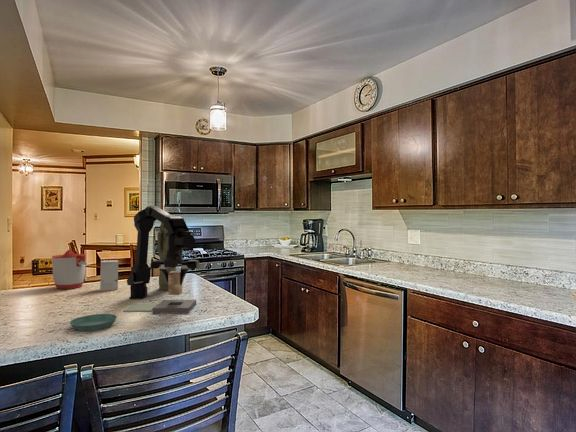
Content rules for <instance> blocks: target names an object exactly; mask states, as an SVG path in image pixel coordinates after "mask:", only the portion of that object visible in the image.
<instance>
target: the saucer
mask: <svg viewBox="0 0 576 432" xmlns="http://www.w3.org/2000/svg"><path fill="white" fill-rule="evenodd" d="M117 319H118V316H117V315H116V314H112V313H96V314H90V315H89V314H88V315H83V316H80V317H77V318H74V319H73V320H70V322H69V324H70V326H71V327H72V328H74V329H75V330H76V331H80V332H92V331H98V330H99V331H100V330H103V329H106V328H108V327H111V326H112V325H113V323H114V322H115V321H116V320H117Z"/></svg>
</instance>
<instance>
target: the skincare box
mask: <svg viewBox="0 0 576 432" xmlns="http://www.w3.org/2000/svg"><path fill="white" fill-rule="evenodd" d="M99 283H100V285H99V290H100V292H104V291H105V292H106V291H115V290H118V289H119V286H118V285H119V260H117V259H116V260H101V261H100V282H99Z"/></svg>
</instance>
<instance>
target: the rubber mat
mask: <svg viewBox="0 0 576 432" xmlns="http://www.w3.org/2000/svg"><path fill="white" fill-rule="evenodd" d="M157 304H158V303H132V304H130V306H128V307H126V308H125V309H123V312H124V313H129V312H130V313H131V312H132V313H135V312H137V313H139V312H140V313H141V312H143V313H144V312H153V308H154V307H155V306H156V305H157Z"/></svg>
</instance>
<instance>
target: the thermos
mask: <svg viewBox="0 0 576 432" xmlns="http://www.w3.org/2000/svg"><path fill="white" fill-rule="evenodd" d="M167 232H168V231H167V230H166V229H165V228H164V227H163V223H162V222H160V225H159V230H158V232H157V235H156V236H157V250H158V256H159V260H164V258H165V257H166V255H167V250H168V236H165V234H166V233H167ZM176 268H177V267H175V268H172V267H170V272H171V271H177V270H176ZM158 285H159V286H158V287H159V288H158V289H159V291H164V292H165V291H167V290H168V282H167V279H166V276H165V274H164V273H163V272H162V271H160V270H159V275H158ZM167 292H168V291H167Z"/></svg>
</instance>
